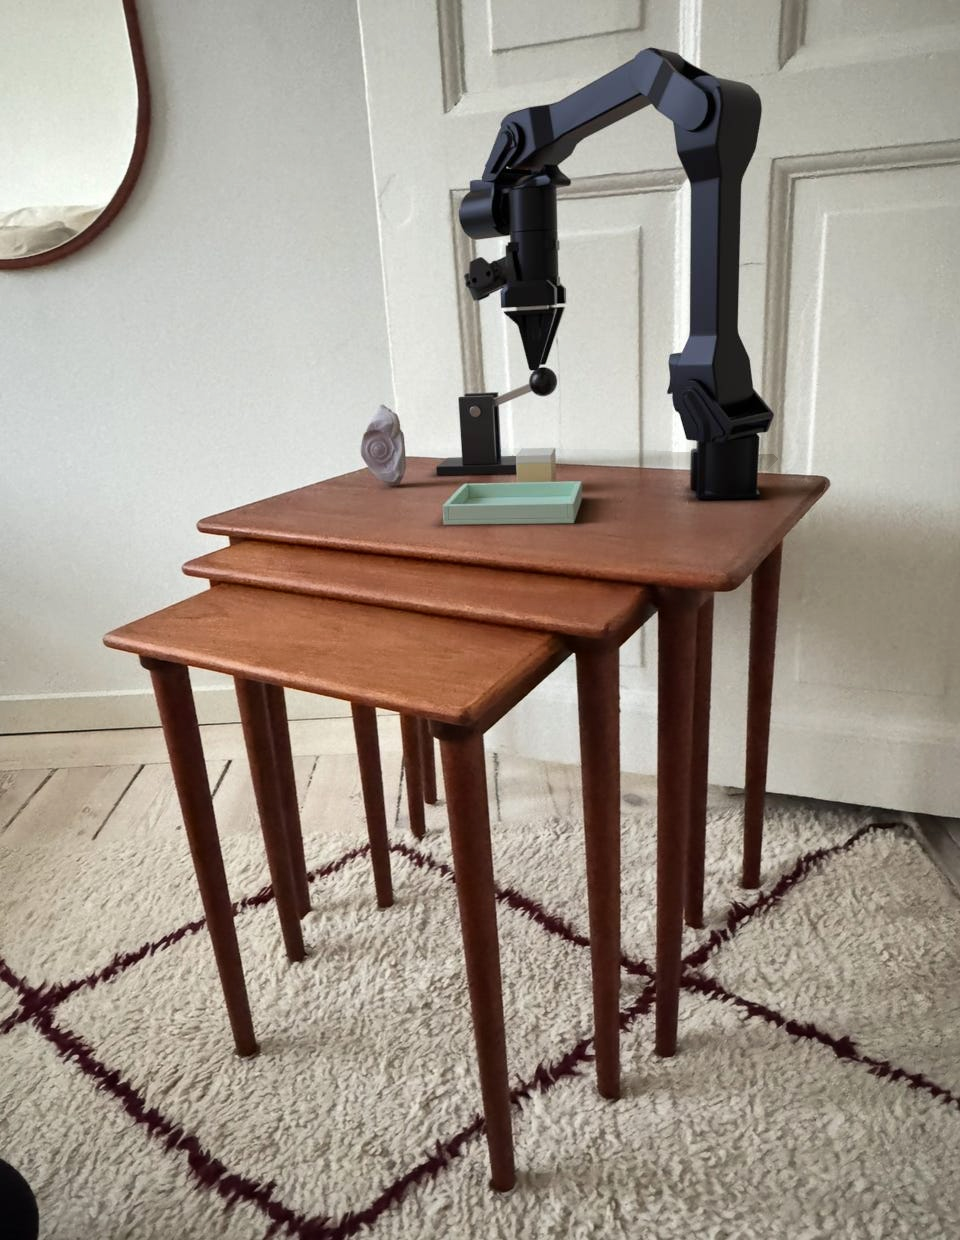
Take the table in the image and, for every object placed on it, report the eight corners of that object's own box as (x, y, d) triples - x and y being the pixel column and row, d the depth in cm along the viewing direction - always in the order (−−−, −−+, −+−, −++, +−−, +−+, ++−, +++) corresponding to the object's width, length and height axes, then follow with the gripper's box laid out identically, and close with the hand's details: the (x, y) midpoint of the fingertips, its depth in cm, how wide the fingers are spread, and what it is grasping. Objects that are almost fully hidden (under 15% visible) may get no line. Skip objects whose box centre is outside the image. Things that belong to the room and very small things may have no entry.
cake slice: (556, 485, 106) (555, 447, 105) (552, 494, 101) (551, 454, 100) (523, 486, 107) (521, 448, 105) (517, 494, 102) (515, 455, 101)
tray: (582, 499, 98) (581, 481, 97) (573, 523, 88) (573, 503, 87) (464, 501, 101) (463, 483, 100) (443, 524, 90) (442, 505, 90)
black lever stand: (526, 464, 121) (524, 390, 118) (519, 473, 115) (516, 395, 111) (448, 466, 123) (443, 393, 120) (436, 475, 117) (431, 399, 113)
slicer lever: (562, 388, 115) (552, 361, 114) (560, 391, 112) (549, 363, 111) (477, 424, 119) (466, 398, 118) (472, 427, 115) (461, 401, 114)
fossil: (361, 488, 111) (353, 407, 108) (374, 483, 114) (367, 403, 111) (403, 489, 109) (395, 406, 105) (415, 484, 112) (409, 402, 108)
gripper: (480, 241, 117) (486, 364, 122) (452, 232, 99) (461, 376, 105) (565, 235, 115) (567, 361, 120) (552, 225, 97) (556, 372, 103)
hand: (537, 367), depth 112 cm, fingers open, 9 cm apart
